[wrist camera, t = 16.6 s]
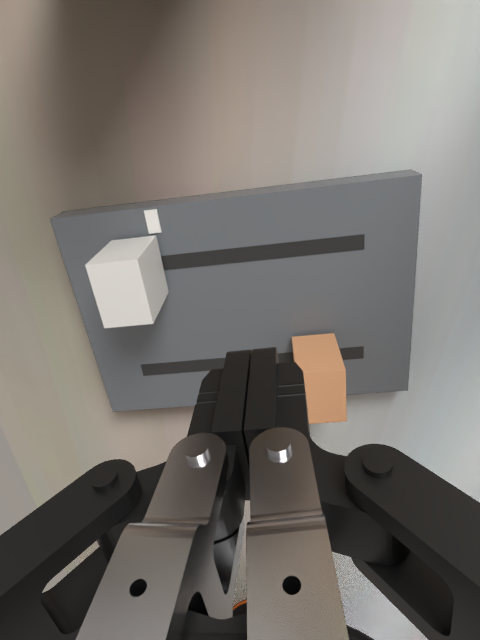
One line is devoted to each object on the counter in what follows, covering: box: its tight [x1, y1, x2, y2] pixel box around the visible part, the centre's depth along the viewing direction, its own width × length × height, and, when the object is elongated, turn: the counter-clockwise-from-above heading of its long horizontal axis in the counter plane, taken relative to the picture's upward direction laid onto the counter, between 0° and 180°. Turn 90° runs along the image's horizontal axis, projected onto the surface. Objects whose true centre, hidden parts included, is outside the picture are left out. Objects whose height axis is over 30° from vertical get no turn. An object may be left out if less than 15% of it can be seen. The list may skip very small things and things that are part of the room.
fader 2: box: [292, 333, 347, 424], centre depth 35 cm, size 4×5×6 cm
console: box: [50, 170, 422, 412], centre depth 37 cm, size 28×19×3 cm
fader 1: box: [85, 235, 169, 328], centre depth 32 cm, size 4×5×6 cm
